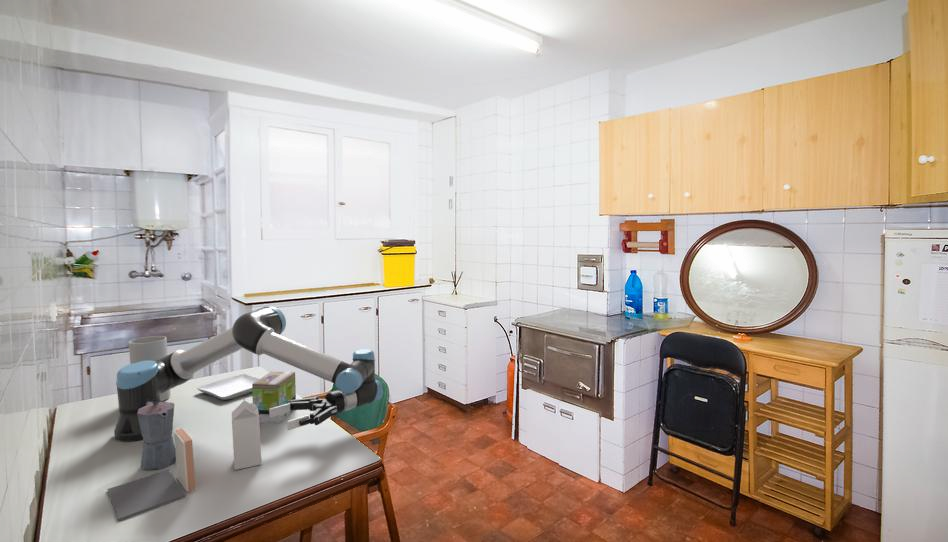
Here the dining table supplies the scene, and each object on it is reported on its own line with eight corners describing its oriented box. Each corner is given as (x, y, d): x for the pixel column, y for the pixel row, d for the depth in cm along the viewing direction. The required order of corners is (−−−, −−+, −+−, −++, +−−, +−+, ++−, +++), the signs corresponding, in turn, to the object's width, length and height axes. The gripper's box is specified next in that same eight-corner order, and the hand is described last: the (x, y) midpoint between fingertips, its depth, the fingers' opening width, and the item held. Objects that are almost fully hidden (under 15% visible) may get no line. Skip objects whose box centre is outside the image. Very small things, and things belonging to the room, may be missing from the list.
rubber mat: (107, 491, 124) (107, 489, 124) (168, 471, 134) (168, 469, 134) (118, 521, 112) (118, 518, 111) (185, 496, 121) (185, 494, 121)
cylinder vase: (128, 401, 188) (123, 340, 186) (162, 392, 198) (158, 334, 196) (141, 408, 181) (136, 345, 178) (176, 398, 191) (171, 338, 189)
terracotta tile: (177, 478, 130) (173, 430, 129) (185, 475, 132) (182, 428, 130) (186, 492, 123) (183, 442, 122) (195, 489, 125) (192, 439, 123)
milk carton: (234, 470, 134) (231, 407, 132) (234, 460, 140) (231, 399, 139) (261, 464, 137) (258, 402, 136) (260, 454, 144) (257, 395, 142)
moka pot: (152, 477, 131) (147, 409, 129) (128, 463, 139) (122, 398, 137) (188, 462, 139) (184, 398, 137) (162, 449, 147) (158, 388, 145)
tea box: (280, 424, 166) (278, 383, 164) (252, 424, 166) (250, 383, 165) (297, 407, 181) (295, 370, 179) (271, 407, 181) (269, 370, 180)
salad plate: (223, 404, 185) (222, 396, 185) (195, 394, 196) (195, 386, 196) (271, 389, 203) (271, 381, 202) (243, 380, 214) (243, 373, 214)
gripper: (360, 422, 151) (296, 443, 136) (323, 401, 169) (263, 419, 154) (359, 399, 150) (295, 419, 136) (322, 381, 168) (262, 397, 153)
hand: (278, 419), depth 145 cm, fingers open, 13 cm apart
